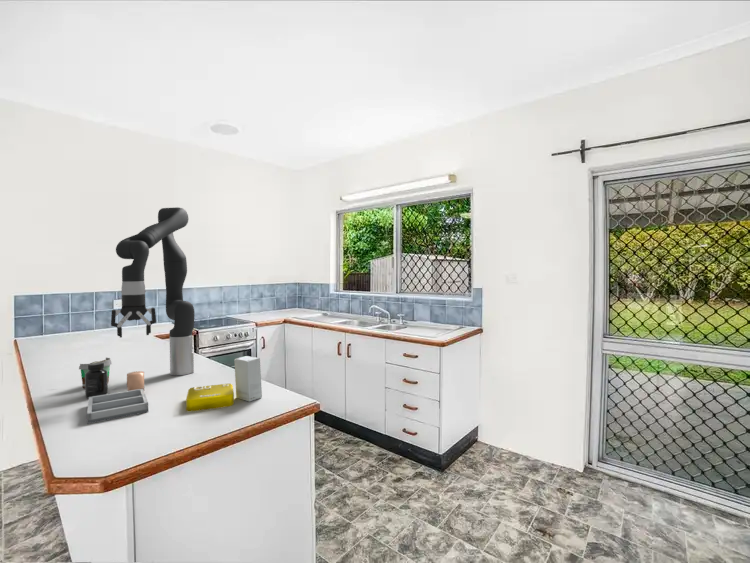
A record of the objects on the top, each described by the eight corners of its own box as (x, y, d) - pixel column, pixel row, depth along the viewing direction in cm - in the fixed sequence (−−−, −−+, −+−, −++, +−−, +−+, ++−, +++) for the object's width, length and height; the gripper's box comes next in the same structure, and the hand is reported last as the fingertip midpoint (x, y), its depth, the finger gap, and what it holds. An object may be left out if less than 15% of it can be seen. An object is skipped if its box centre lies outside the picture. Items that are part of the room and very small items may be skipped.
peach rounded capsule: (143, 390, 144) (143, 370, 144) (145, 394, 140) (144, 373, 140) (126, 393, 141) (126, 372, 141) (127, 397, 137) (127, 376, 136)
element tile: (185, 413, 122) (185, 399, 122) (188, 399, 136) (188, 386, 136) (234, 406, 128) (234, 393, 128) (232, 393, 142) (232, 381, 142)
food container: (92, 390, 145) (91, 365, 145) (79, 389, 146) (78, 364, 146) (119, 381, 157) (119, 357, 157) (107, 380, 158) (107, 357, 158)
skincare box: (262, 397, 136) (261, 357, 136) (248, 402, 131) (247, 361, 131) (248, 393, 141) (248, 354, 141) (234, 397, 136) (233, 357, 136)
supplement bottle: (112, 393, 141) (111, 362, 141) (93, 399, 135) (92, 366, 134) (99, 391, 143) (99, 360, 143) (80, 397, 137) (79, 365, 137)
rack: (143, 396, 138) (143, 388, 138) (148, 411, 122) (148, 402, 122) (89, 405, 128) (88, 397, 128) (87, 423, 113) (87, 414, 113)
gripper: (154, 292, 147) (155, 332, 147) (110, 293, 138) (111, 336, 139) (156, 293, 141) (157, 335, 141) (110, 294, 132) (111, 339, 133)
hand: (134, 336), depth 140 cm, fingers open, 8 cm apart
